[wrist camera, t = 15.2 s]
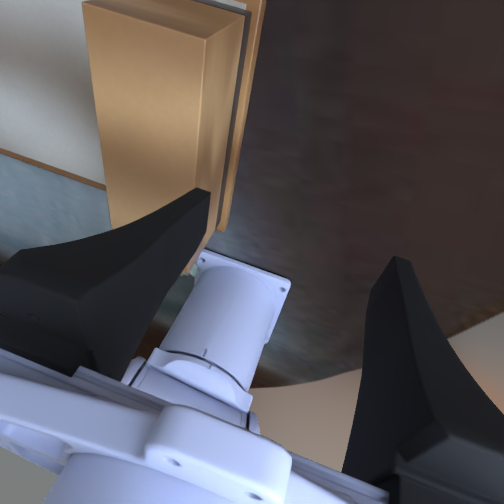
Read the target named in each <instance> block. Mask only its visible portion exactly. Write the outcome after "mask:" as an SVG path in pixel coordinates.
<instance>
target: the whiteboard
mask: <svg viewBox="0 0 504 504" xmlns="http://www.w3.org/2000/svg"><path fill="white" fill-rule="evenodd" d="M84 1H88V0H0V153H1V154H4V155H7V156H9V157H12V158H15V159H18V160H21V161H23V162H26V163H29V164H32V165H35V166H37V167H40V168H43V169H46V170H49V171H51V172H54V173H57V174H60V175H63V176H66V177H68V178H71V179H74V180H77V181H80V182H82V183H85V184H88V185H91V186H94V187H96V188H99V189H102V190H105V191H107V190H106V183H105V175H104V168H103V160H102V153H101V145H100V138H99V131H98V123H97V116H96V108H95V101H94V94H93V86H92V79H91V71H90V64H89V56H88V49H87V42H86V34H85V27H84V19H83V12H82V4H81V3H82V2H84ZM213 1H217V2H220V3H224V4H227V5H230V6H234V7H237V8H241V9H244V10H248V11H251V12H252V16H251V22H250V29H249V35H248V42H247V49H246V55H245V62H244V69H243V75H242V82H241V88H240V95H239V102H238V108H237V115H236V122H235V128H234V135H233V141H232V148H231V155H230V161H229V168H228V175H227V181H226V188H225V194H224V201H223V208H222V214H221V221H220V223H219V225H218V226H217V228H216V229H215V230H217V231H220V232H224V231H225V229H226V227H227V226H228V220H229V214H230V208H231V202H232V197H233V191H234V185H235V179H236V174H237V168H238V162H239V156H240V150H241V145H242V139H243V133H244V127H245V122H246V116H247V110H248V104H249V99H250V93H251V87H252V81H253V75H254V70H255V64H256V58H257V52H258V47H259V41H260V35H261V29H262V23H263V18H264V12H265V6H266V0H213Z"/></svg>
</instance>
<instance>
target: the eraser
mask: <svg viewBox="0 0 504 504" xmlns="http://www.w3.org/2000/svg"><path fill="white" fill-rule="evenodd" d="M81 4H82V12H83V19H84V27H85V34H86V42H87V49H88V56H89V64H90V71H91V79H92V86H93V94H94V101H95V108H96V116H97V123H98V131H99V138H100V145H101V153H102V160H103V168H104V175H105V183H106V190H107V197H108V205H109V212H110V220H111V227H112V230H113V229H116V228H118V227H121V226H124V225H126V224H129V223H131V222H133V221H136V220H138V219H140V218H142V217H144V216H146V215H148V214H150V213H152V212H154V211H156V210H158V209H160V208H161V207H163V206H165V205H167V204H169V203H170V202H172V201H174V200H176V199H177V198H179V197H181V196H182V195H184V194H186V193H187V192H189V191H191V190H192V189H194V188H196V187H197V188H200V189H203V190H206V191H209V192H211V199H210V207H209V215H208V224H207V231H206V233H205V235H204V237H203V239H202V241H201V243H200V245H199V247H198V249H197V251H196V252H195V254H194V255H193V257H192V258H191V260H190V261H189V263H188V264H187V265H186V267H185V268H184V270H183V271H182V272H183V273H186V274H188V273H189V271H190V270H191V268H192V267H193V265H194V263H195V262H196V260H197V259H198V257H199V255H200V254H201V252H202V250H203V249H204V247H205V246H206V244H207V242H208V241H209V239H210V238H211V236H212V234H213V233H214V231H215V229H216V228H217V226H218V225H219V223H220V221H221V214H222V208H223V201H224V194H225V188H226V181H227V175H228V168H229V161H230V155H231V148H232V141H233V135H234V128H235V122H236V115H237V108H238V102H239V95H240V88H241V82H242V75H243V69H244V62H245V55H246V49H247V42H248V35H249V29H250V22H251V16H252V12H251V11H248V10H244V9H241V8H237V7H234V6H230V5H227V4H224V3H220V2H217V1H213V0H88V1H84V2H82V3H81Z"/></svg>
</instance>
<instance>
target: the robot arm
mask: <svg viewBox="0 0 504 504" xmlns="http://www.w3.org/2000/svg"><path fill="white" fill-rule="evenodd" d="M210 199H211V192H209V191H206V190H203V189H200V188H197V187H196V188H194V189H192V190H191V191H189V192H187V193H186V194H184V195H182V196H181V197H179V198H177V199H176V200H174V201H172V202H170V203H169V204H167V205H165V206H163V207H161V208H160V209H158V210H156V211H154V212H152V213H150V214H148V215H146V216H144V217H142V218H140V219H138V220H136V221H133V222H131V223H129V224H126V225H124V226H121V227H118V228H116V229H113V230H110V231H107V232H104V233H100V234H97V235H94V236H90V237H87V238H83V239H79V240H75V241H71V242H66V243H61V244H56V245H50V246H43V247H37V248H30V249H22V250H20V251H18V252H17V253H16V254H15V255H13V256H12V257H11V258H10V259H9V260H7V261H6V262H5V263H4V264H3V265H2V266H1V267H0V312H1V314H2V315H1V316H0V446H1V447H3V448H5V449H7V450H9V451H11V452H13V453H15V454H17V455H19V456H21V457H23V458H25V459H27V460H29V461H31V462H33V463H35V464H37V465H39V466H41V467H43V468H45V469H46V470H49V471H50V472H52V473H54V474H56V475H58V476H59V477H58V478H57V480H56V481H55V483H54V485H53V486H52V488H51V489H50V491H49V492H48V494H47V496H46V498H45V499H44V500H43V502H42V504H504V415H503V413H502V412H501V411H500V410H499V409H498V408H497V407H496V405H495V404H494V403H493V402H492V401H491V400H490V399H489V397H488V396H487V395H486V394H485V392H484V391H483V390H482V389H481V388H480V386H479V385H478V384H477V382H476V381H475V380H474V379H473V377H472V376H471V375H470V373H469V372H468V370H467V369H466V368H465V366H464V365H463V364H462V362H461V361H460V359H459V358H458V356H457V355H456V353H455V351H454V350H453V349H452V347H451V345H450V344H449V342H448V340H447V339H446V337H445V335H444V334H443V332H442V330H441V328H440V326H439V324H438V322H437V321H436V319H435V317H434V315H433V313H432V311H431V309H430V306H429V304H428V302H427V300H426V298H425V295H424V293H423V291H422V288H421V286H420V284H419V281H418V279H417V276H416V274H415V271H414V269H413V267H412V264H411V262H410V261H408V260H405V259H402V258H400V257H397V256H393V258H392V259H391V261H390V262H389V264H388V265H387V267H386V268H385V270H384V271H383V273H382V274H381V276H380V277H379V279H378V280H377V282H376V283H375V285H374V286H373V288H372V289H371V292H370V297H369V301H368V306H367V311H366V322H365V337H364V354H363V368H362V377H361V383H360V388H359V394H358V400H357V405H356V410H355V415H354V420H353V425H352V429H351V434H350V438H349V443H348V447H347V452H346V456H345V460H344V464H343V468H342V472H339V471H336V470H334V469H331V468H329V467H326V466H324V465H322V464H319V463H317V462H314V461H312V460H309V459H307V458H304V457H302V456H299V455H297V454H294V453H292V452H290V451H287V450H286V449H285V448H284V447H283V446H282V445H280V444H278V443H276V442H275V441H273V440H271V439H269V438H267V437H264V436H262V435H260V428H259V424H258V419H257V416H256V414H255V413H253V412H251V411H249V408H250V405H251V402H252V399H253V396H252V395H250V394H249V393H248V390H249V388H250V385H251V382H252V379H253V376H254V373H255V370H256V367H257V364H258V361H259V358H260V355H261V352H262V349H263V346H264V343H267V342H268V340H269V338H270V336H271V333H272V331H273V328H274V326H275V323H276V321H277V318H278V316H279V313H280V311H281V308H282V306H283V303H284V301H285V298H286V296H287V293H288V291H289V288H290V286H291V282H290V281H289V280H288V279H286V278H283V277H280V276H278V275H275V274H272V273H269V272H267V271H264V270H261V269H258V268H256V267H253V266H250V265H247V264H245V263H242V262H239V261H236V260H234V259H231V258H228V257H225V256H222V255H220V254H217V253H214V252H211V251H209V250H206V249H203V250H202V252H201V254H200V255H199V257H198V259H197V260H196V265H197V267H198V268H199V274H198V276H197V277H195V279H194V288H193V290H192V292H191V293H190V295H189V297H188V299H187V300H186V302H185V304H184V305H183V307H182V309H181V311H180V312H179V314H178V316H177V318H176V319H175V321H174V323H173V324H172V326H171V328H170V330H169V331H168V333H167V335H166V336H165V338H164V340H163V342H162V343H161V345H160V347H159V349H158V348H155V349H154V351H153V352H152V354H151V356H150V357H149V359H148V361H147V362H146V359H144V358H142V357H140V356H139V357H137V358H136V359H133V360H132V358H133V356H134V354H135V352H136V350H137V348H138V346H139V344H140V342H141V340H142V338H143V336H144V334H145V332H146V330H147V328H148V326H149V324H150V322H151V321H152V319H153V317H154V315H155V313H156V311H157V310H158V308H159V306H160V304H161V302H162V301H163V299H164V297H165V296H166V294H167V293H168V291H169V290H170V288H171V287H172V285H173V284H174V283H175V281H176V280H177V278H178V277H179V275H180V274H181V273H182V271H183V270H184V268H185V267H186V265H187V264H188V263H189V261H190V260H191V258H192V257H193V255H194V254H195V252H196V251H197V249H198V247H199V245H200V243H201V241H202V239H203V237H204V235H205V233H206V231H207V224H208V215H209V207H210ZM202 258H203V259H202ZM282 287H283V288H282Z"/></svg>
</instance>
